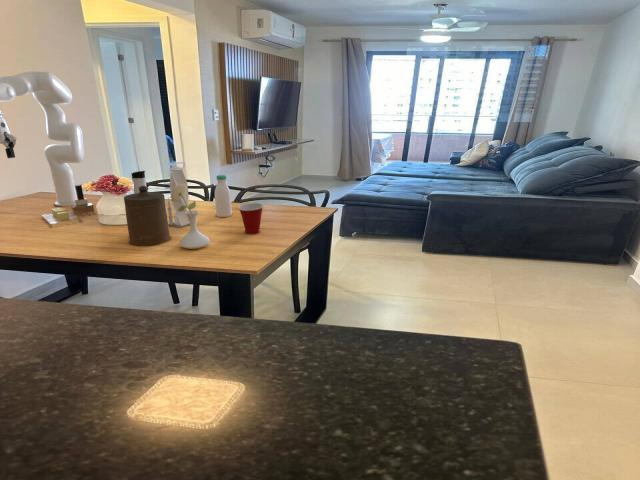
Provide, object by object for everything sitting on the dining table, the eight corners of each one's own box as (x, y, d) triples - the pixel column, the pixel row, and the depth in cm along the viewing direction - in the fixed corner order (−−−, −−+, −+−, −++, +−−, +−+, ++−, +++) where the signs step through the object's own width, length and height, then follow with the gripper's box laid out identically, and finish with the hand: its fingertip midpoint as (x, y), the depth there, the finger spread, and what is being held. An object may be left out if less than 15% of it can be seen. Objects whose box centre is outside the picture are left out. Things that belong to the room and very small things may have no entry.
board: (41, 218, 181) (41, 215, 181) (70, 213, 189) (70, 210, 189) (51, 227, 168) (50, 224, 168) (82, 222, 176) (81, 219, 176)
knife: (78, 216, 185) (72, 185, 180) (77, 215, 186) (71, 185, 181) (90, 214, 188) (84, 184, 183) (89, 213, 189) (83, 184, 185)
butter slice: (57, 219, 175) (56, 212, 174) (68, 217, 177) (66, 211, 176) (59, 220, 173) (57, 214, 172) (69, 218, 176) (68, 212, 175)
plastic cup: (237, 229, 169) (235, 203, 165) (261, 227, 173) (260, 201, 169) (241, 237, 160) (240, 209, 156) (267, 234, 163) (266, 207, 159)
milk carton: (183, 221, 180) (177, 161, 171) (195, 223, 177) (189, 162, 167) (168, 225, 174) (161, 163, 164) (180, 228, 170) (173, 164, 161)
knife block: (72, 215, 186) (70, 205, 184) (92, 212, 192) (90, 203, 190) (75, 217, 183) (73, 207, 181) (95, 214, 189) (93, 204, 187)
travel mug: (146, 210, 197) (141, 172, 191) (134, 210, 197) (128, 171, 191) (152, 207, 203) (147, 170, 196) (139, 207, 203) (134, 169, 197)
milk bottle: (233, 216, 189) (230, 176, 182) (217, 218, 186) (214, 177, 180) (230, 212, 196) (228, 174, 189) (215, 214, 193) (212, 174, 186)
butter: (52, 214, 181) (51, 208, 180) (62, 213, 184) (61, 207, 183) (56, 217, 177) (55, 211, 176) (66, 216, 179) (65, 210, 178)
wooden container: (161, 232, 164) (155, 181, 157) (175, 240, 154) (169, 186, 147) (125, 238, 155) (116, 185, 148) (136, 248, 144) (128, 191, 137)
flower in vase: (200, 239, 156) (194, 178, 147) (216, 246, 149) (211, 182, 140) (170, 247, 146) (162, 183, 138) (185, 255, 139) (178, 187, 131)
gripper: (17, 114, 157) (27, 157, 163) (-22, 114, 158) (-11, 155, 164) (1, 115, 150) (12, 159, 156) (-40, 114, 151) (-27, 158, 157)
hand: (0, 157), depth 160 cm, fingers open, 9 cm apart
